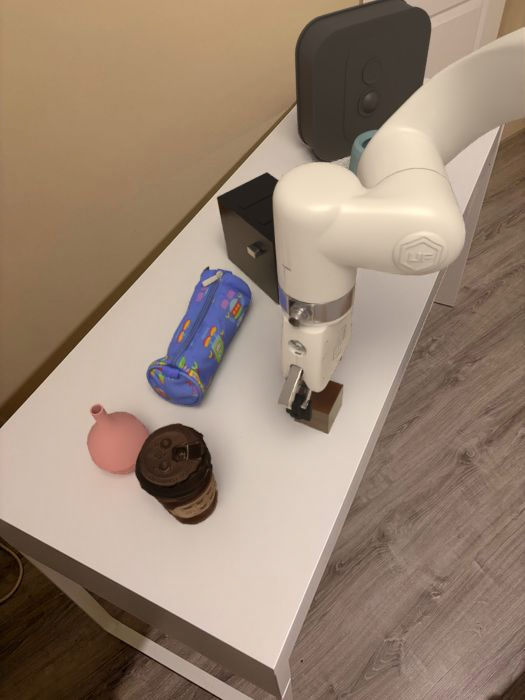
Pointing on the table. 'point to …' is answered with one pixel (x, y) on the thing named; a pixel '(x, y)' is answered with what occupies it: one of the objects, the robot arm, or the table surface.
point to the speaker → (357, 71)
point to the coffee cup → (178, 472)
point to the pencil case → (200, 338)
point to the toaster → (252, 231)
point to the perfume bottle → (115, 440)
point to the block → (324, 406)
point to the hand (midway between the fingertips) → (314, 384)
